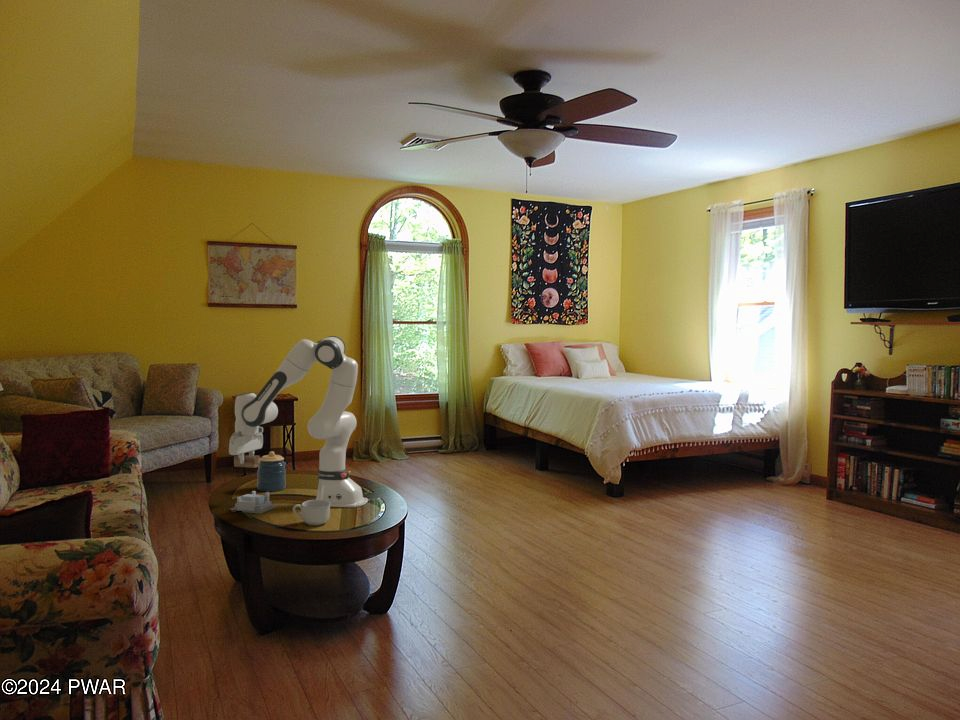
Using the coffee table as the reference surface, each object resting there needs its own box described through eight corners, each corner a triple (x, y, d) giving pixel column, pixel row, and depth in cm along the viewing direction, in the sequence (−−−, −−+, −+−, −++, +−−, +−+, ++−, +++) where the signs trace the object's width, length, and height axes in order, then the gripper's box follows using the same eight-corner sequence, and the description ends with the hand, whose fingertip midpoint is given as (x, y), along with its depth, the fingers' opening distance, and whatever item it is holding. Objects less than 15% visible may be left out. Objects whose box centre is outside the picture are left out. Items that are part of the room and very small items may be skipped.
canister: (252, 491, 306) (252, 453, 306) (262, 485, 319) (262, 448, 319) (280, 492, 306) (281, 454, 305) (289, 486, 319) (289, 449, 318)
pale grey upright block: (264, 506, 276) (264, 495, 276) (258, 508, 273) (258, 497, 272) (246, 504, 278) (246, 494, 278) (241, 507, 274) (241, 496, 274)
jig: (276, 506, 279) (276, 492, 279) (260, 514, 268) (260, 499, 268) (246, 504, 283) (246, 490, 283) (229, 511, 271) (229, 496, 271)
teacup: (332, 519, 261) (332, 499, 261) (327, 527, 251) (327, 506, 250) (296, 519, 261) (297, 499, 261) (289, 527, 250) (290, 506, 250)
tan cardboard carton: (239, 465, 291) (239, 454, 291) (259, 465, 289) (259, 455, 289) (234, 466, 287) (233, 456, 287) (254, 467, 285) (254, 457, 285)
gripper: (237, 433, 277) (238, 466, 277) (265, 427, 297) (265, 458, 297) (224, 433, 279) (225, 466, 279) (252, 427, 298) (253, 458, 299)
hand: (246, 462), depth 288 cm, fingers closed on tan cardboard carton, 4 cm apart
